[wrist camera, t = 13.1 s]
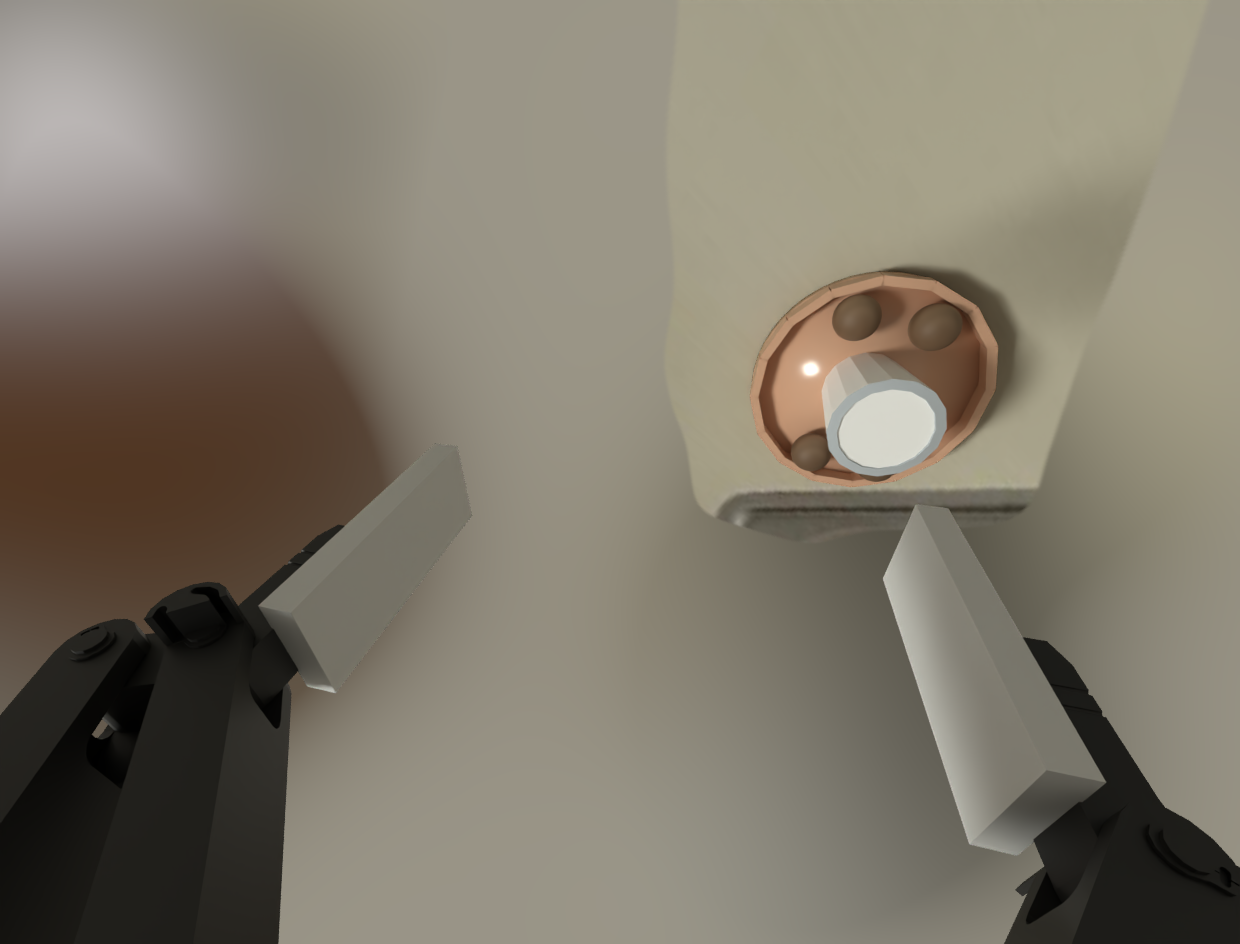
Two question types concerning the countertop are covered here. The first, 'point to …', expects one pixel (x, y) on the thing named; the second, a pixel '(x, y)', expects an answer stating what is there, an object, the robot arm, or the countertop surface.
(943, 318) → the bead
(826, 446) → the bead
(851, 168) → the countertop surface
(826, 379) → the white cup
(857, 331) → the bead
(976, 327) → the tray
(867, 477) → the bead
